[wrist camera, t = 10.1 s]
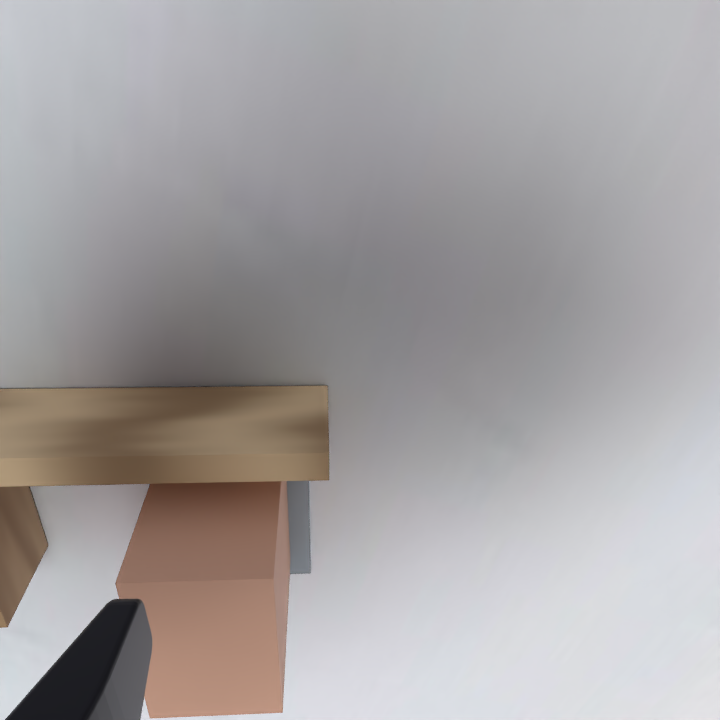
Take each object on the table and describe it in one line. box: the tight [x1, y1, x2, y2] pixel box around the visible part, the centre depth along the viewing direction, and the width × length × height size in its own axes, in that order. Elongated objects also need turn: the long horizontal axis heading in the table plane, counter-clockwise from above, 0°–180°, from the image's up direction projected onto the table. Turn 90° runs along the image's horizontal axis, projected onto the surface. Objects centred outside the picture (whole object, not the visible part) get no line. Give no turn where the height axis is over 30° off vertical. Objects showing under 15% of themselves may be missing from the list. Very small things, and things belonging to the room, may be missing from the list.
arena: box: [0, 386, 329, 628], centre depth 21 cm, size 12×9×4 cm
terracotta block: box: [115, 481, 290, 718], centre depth 20 cm, size 6×4×6 cm, turn 0°
